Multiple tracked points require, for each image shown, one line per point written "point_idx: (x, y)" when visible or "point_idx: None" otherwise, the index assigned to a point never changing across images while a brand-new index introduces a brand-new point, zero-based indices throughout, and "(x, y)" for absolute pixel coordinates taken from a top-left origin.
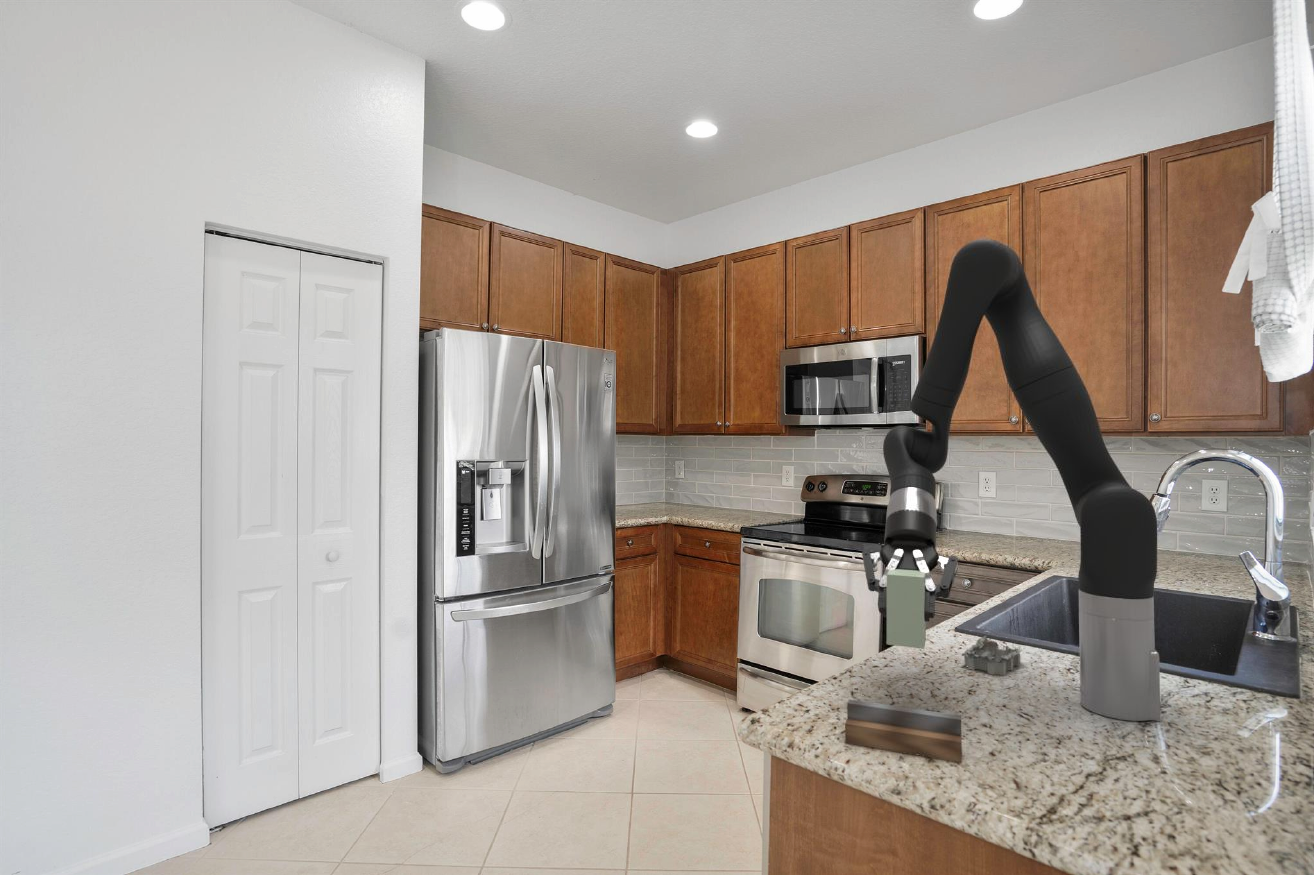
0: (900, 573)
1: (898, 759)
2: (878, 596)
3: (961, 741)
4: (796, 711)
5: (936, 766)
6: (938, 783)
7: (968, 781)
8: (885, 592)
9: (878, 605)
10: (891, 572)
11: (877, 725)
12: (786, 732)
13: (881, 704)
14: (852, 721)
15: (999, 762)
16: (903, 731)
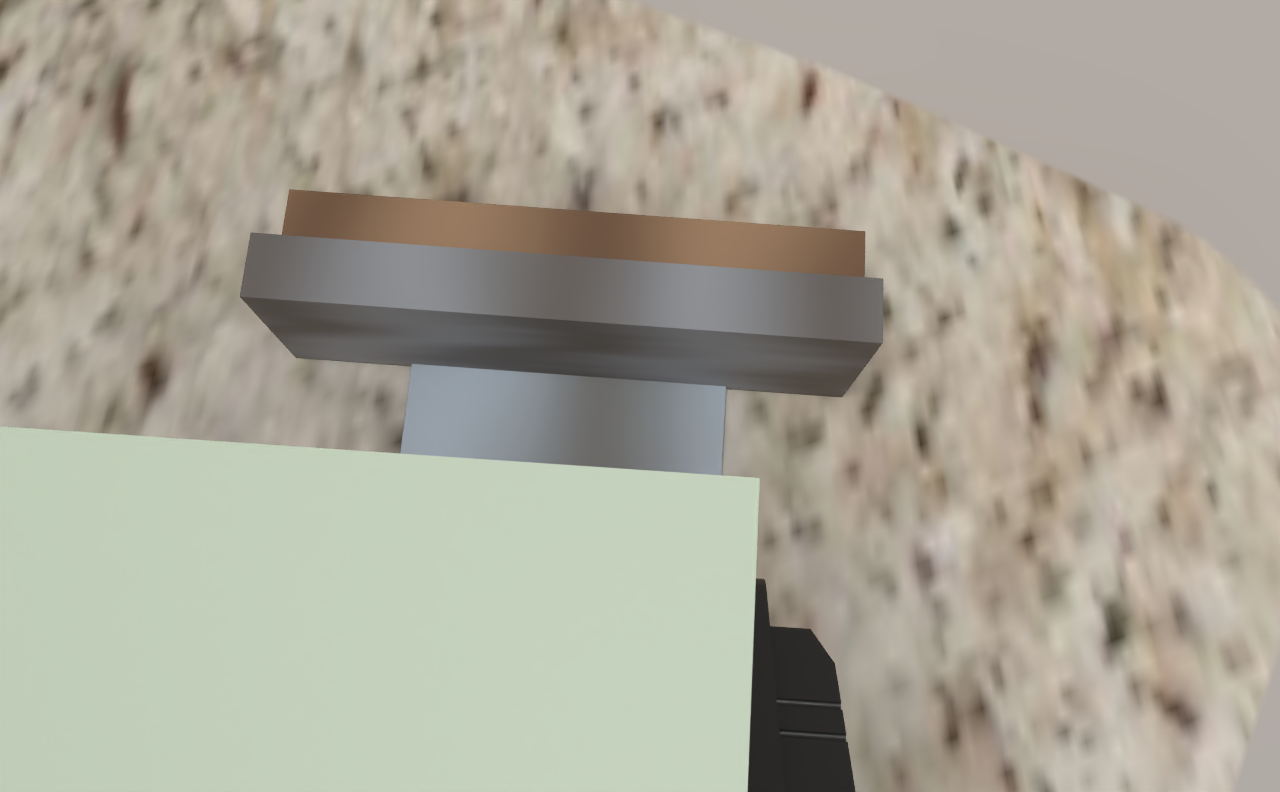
0: (457, 719)
1: (594, 178)
2: (848, 760)
3: (288, 201)
4: (1170, 595)
5: (432, 163)
6: (438, 20)
7: (315, 72)
8: (749, 768)
9: (819, 649)
10: (662, 769)
11: (699, 263)
12: (1140, 296)
13: (687, 321)
14: (831, 272)
15: (141, 291)
16: (566, 230)
